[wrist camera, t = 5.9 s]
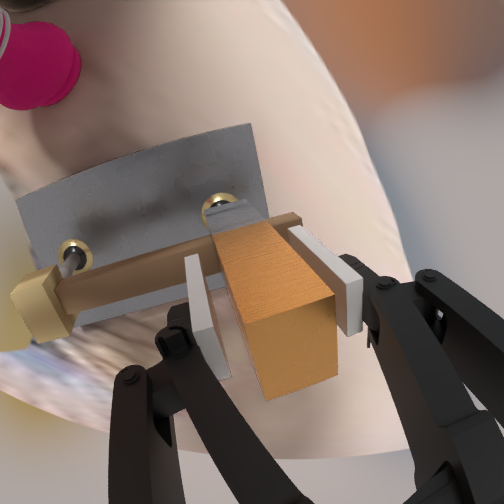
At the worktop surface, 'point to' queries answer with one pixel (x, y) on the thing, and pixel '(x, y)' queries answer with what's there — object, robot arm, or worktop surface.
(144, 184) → the bolt plate
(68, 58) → the pepper mill
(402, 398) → the robot arm
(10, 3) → the beer bottle
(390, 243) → the worktop surface
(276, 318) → the block
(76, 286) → the wooden rod with block
